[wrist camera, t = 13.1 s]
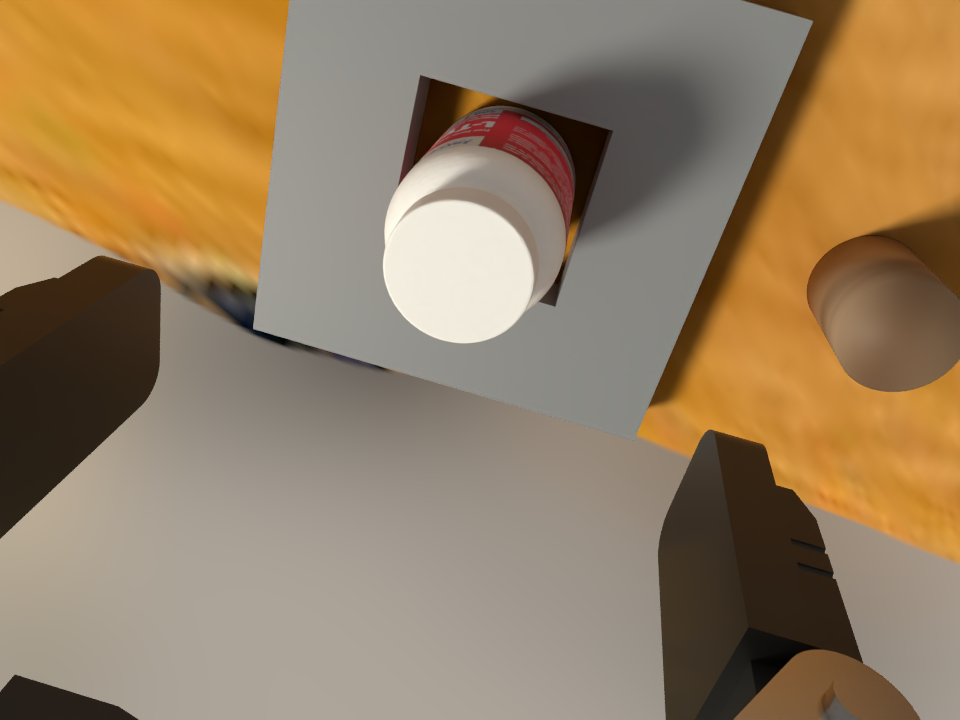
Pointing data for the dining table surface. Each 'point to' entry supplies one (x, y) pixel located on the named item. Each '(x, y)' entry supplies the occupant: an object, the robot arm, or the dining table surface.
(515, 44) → the hole plate
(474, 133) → the pill bottle
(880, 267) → the walnut stub
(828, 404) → the dining table surface
